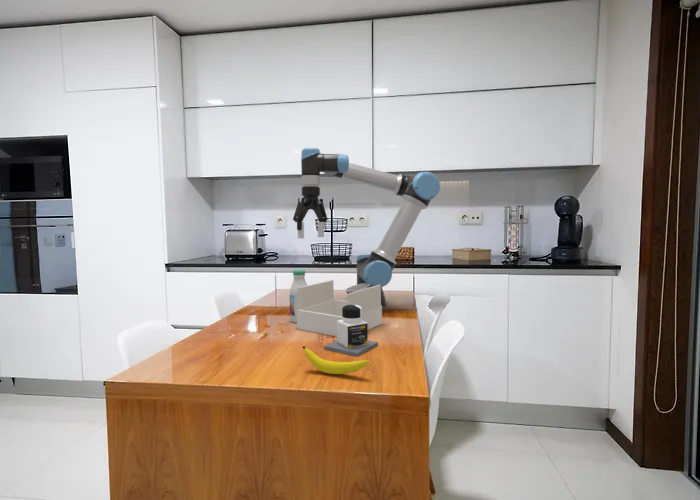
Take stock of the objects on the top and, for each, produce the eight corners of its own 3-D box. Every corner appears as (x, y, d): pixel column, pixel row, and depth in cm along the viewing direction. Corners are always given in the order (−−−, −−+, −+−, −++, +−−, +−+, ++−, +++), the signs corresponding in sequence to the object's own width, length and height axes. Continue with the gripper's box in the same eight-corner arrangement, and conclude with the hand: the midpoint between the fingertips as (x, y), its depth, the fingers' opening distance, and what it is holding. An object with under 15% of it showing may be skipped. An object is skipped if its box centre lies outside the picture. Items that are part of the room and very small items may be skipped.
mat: (346, 339, 133) (346, 336, 133) (377, 345, 126) (377, 342, 126) (324, 349, 123) (324, 346, 123) (357, 356, 117) (357, 353, 116)
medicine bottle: (348, 348, 120) (347, 309, 119) (336, 342, 126) (336, 305, 125) (368, 344, 124) (367, 306, 123) (356, 339, 130) (355, 302, 129)
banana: (368, 382, 98) (368, 356, 98) (300, 371, 106) (299, 347, 105) (372, 377, 101) (372, 353, 101) (305, 367, 108) (305, 344, 108)
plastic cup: (346, 319, 166) (340, 290, 165) (357, 312, 175) (351, 285, 175) (370, 316, 161) (364, 287, 160) (379, 309, 171) (373, 281, 170)
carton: (333, 316, 165) (333, 279, 164) (381, 323, 152) (381, 284, 151) (297, 328, 146) (296, 288, 145) (348, 338, 134) (347, 294, 132)
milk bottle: (311, 318, 161) (310, 269, 159) (307, 323, 153) (306, 271, 152) (292, 318, 162) (291, 269, 160) (287, 323, 154) (286, 271, 153)
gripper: (321, 188, 179) (321, 236, 180) (283, 184, 158) (284, 238, 159) (335, 188, 175) (335, 236, 176) (298, 183, 154) (299, 239, 155)
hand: (311, 237), depth 168 cm, fingers open, 13 cm apart
